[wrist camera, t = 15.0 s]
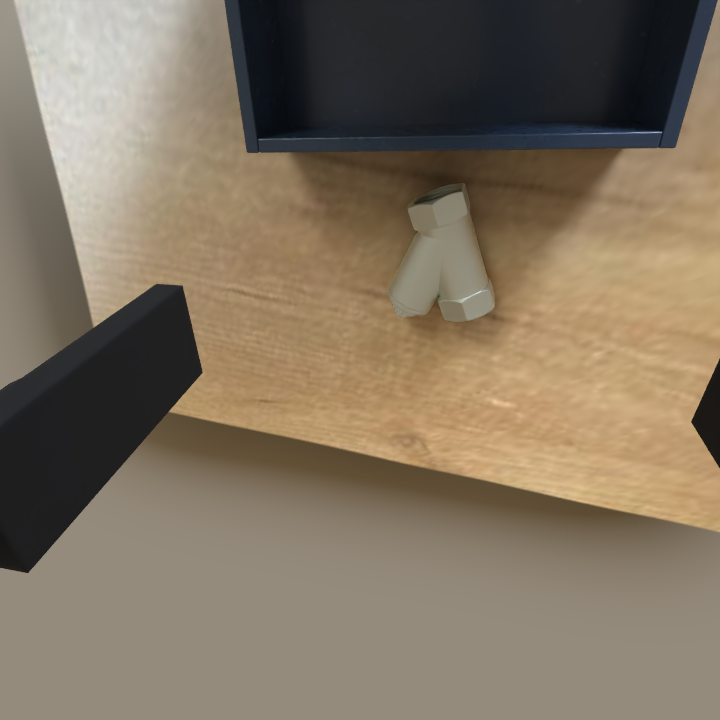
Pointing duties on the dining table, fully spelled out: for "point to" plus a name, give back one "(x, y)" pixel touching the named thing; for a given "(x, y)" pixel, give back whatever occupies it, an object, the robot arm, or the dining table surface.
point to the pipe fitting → (442, 260)
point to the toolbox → (464, 73)
